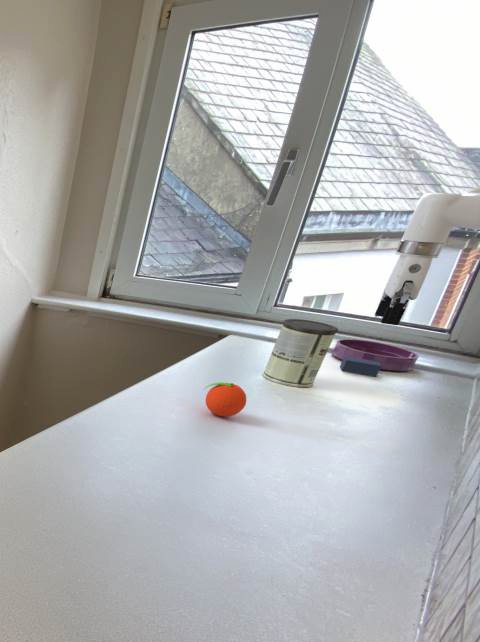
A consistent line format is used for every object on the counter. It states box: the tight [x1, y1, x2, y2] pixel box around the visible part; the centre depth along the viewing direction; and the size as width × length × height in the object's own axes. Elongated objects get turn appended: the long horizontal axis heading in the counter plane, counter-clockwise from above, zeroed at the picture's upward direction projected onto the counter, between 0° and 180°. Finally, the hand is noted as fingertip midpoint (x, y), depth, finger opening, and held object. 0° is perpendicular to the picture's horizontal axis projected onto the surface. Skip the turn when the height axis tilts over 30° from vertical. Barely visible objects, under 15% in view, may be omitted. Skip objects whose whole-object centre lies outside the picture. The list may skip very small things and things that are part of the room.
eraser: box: [339, 356, 381, 378], centre depth 144 cm, size 7×4×3 cm, turn 55°
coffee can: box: [262, 318, 339, 388], centre depth 133 cm, size 10×10×14 cm
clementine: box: [204, 382, 248, 418], centre depth 113 cm, size 8×7×7 cm
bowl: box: [330, 338, 420, 372], centre depth 152 cm, size 17×17×4 cm
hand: (385, 320), depth 138 cm, fingers open, 9 cm apart
